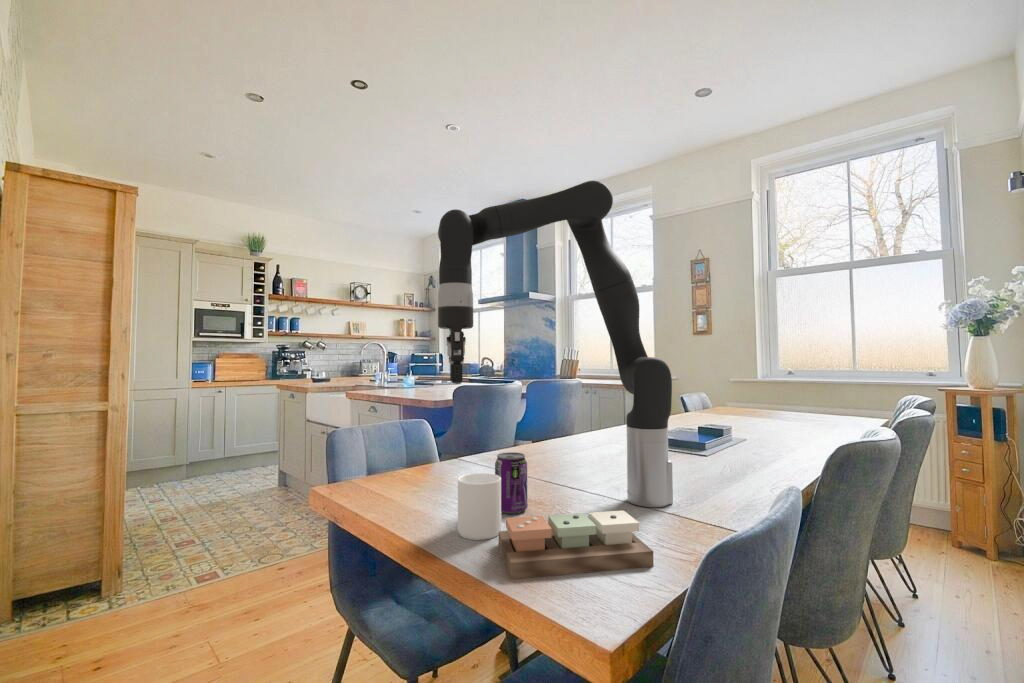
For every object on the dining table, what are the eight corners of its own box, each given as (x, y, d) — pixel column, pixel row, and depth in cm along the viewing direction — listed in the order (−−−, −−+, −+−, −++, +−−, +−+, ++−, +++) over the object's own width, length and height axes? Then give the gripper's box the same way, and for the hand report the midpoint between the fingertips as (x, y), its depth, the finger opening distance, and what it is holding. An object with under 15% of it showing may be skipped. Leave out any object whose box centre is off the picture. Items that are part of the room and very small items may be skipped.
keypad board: (620, 536, 87) (620, 522, 87) (653, 566, 74) (653, 551, 74) (498, 545, 83) (498, 531, 83) (510, 578, 70) (510, 562, 71)
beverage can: (524, 516, 98) (524, 459, 99) (491, 514, 100) (491, 457, 100) (530, 506, 105) (529, 452, 106) (499, 504, 107) (499, 451, 107)
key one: (623, 532, 84) (623, 509, 84) (639, 546, 78) (639, 521, 78) (589, 534, 83) (589, 511, 83) (602, 549, 76) (602, 524, 77)
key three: (542, 538, 81) (542, 514, 81) (551, 553, 75) (551, 527, 75) (505, 541, 80) (505, 516, 80) (512, 556, 74) (512, 530, 74)
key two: (583, 535, 83) (583, 511, 83) (596, 549, 76) (596, 524, 76) (548, 537, 81) (548, 514, 82) (558, 552, 75) (558, 527, 75)
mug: (459, 519, 97) (459, 469, 97) (499, 518, 97) (499, 468, 98) (456, 541, 85) (456, 484, 85) (502, 540, 85) (502, 483, 86)
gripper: (475, 302, 94) (476, 383, 93) (470, 309, 108) (471, 380, 107) (438, 302, 93) (438, 384, 92) (437, 309, 107) (438, 380, 106)
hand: (456, 382), depth 100 cm, fingers open, 8 cm apart
